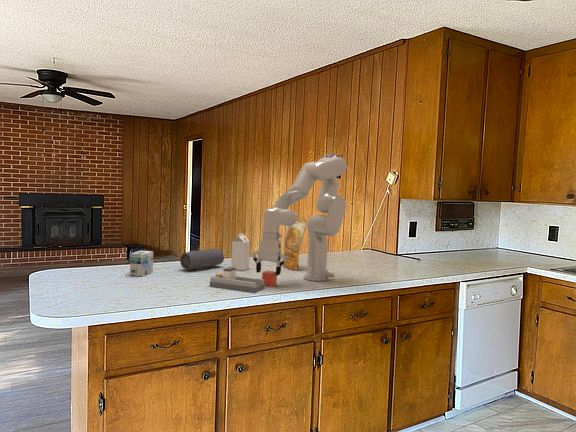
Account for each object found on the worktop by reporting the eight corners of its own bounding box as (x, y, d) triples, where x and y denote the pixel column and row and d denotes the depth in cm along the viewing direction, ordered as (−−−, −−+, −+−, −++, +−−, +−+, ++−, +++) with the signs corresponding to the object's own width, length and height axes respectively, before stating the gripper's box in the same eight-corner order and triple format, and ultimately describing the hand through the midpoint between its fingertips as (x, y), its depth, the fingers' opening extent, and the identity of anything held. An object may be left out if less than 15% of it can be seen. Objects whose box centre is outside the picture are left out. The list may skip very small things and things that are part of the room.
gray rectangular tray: (264, 288, 201) (264, 276, 201) (254, 292, 192) (254, 280, 192) (221, 282, 210) (221, 270, 210) (209, 286, 201) (209, 274, 200)
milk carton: (231, 269, 240) (232, 233, 239) (236, 267, 247) (238, 232, 245) (243, 270, 238) (244, 234, 237) (248, 268, 245) (250, 233, 243)
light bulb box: (142, 276, 214) (142, 254, 214) (129, 275, 216) (129, 253, 215) (153, 272, 225) (153, 251, 224) (140, 271, 226) (141, 250, 225)
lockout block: (276, 284, 210) (277, 271, 209) (271, 286, 205) (272, 273, 205) (266, 283, 211) (267, 270, 211) (261, 285, 207) (262, 272, 206)
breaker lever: (235, 280, 204) (235, 267, 204) (229, 282, 199) (229, 269, 199) (229, 279, 206) (229, 266, 205) (223, 282, 200) (223, 268, 200)
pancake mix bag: (289, 264, 261) (291, 215, 259) (305, 271, 244) (307, 218, 242) (279, 265, 258) (281, 215, 256) (294, 271, 241) (296, 218, 239)
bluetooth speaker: (212, 264, 252) (213, 246, 251) (224, 267, 246) (225, 249, 245) (179, 270, 234) (179, 250, 233) (190, 272, 228) (191, 253, 227)
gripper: (291, 237, 206) (288, 275, 207) (257, 233, 213) (254, 270, 214) (284, 238, 200) (282, 277, 200) (249, 234, 206) (247, 272, 207)
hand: (268, 273), depth 207 cm, fingers open, 9 cm apart
